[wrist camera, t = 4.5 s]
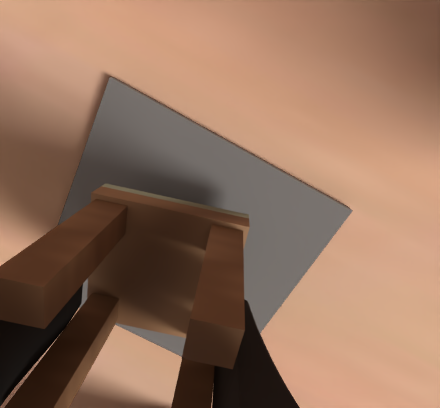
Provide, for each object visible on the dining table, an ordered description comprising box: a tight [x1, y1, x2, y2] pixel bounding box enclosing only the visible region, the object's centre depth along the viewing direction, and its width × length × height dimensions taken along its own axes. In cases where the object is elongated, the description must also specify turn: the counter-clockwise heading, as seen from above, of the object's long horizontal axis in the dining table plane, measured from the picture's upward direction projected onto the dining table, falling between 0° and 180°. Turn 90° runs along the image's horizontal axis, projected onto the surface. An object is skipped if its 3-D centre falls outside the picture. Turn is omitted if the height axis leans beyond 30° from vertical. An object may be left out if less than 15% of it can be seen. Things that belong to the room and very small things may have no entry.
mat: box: [58, 77, 352, 357], centre depth 14 cm, size 12×12×1 cm
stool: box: [0, 184, 250, 408], centre depth 10 cm, size 6×6×6 cm
